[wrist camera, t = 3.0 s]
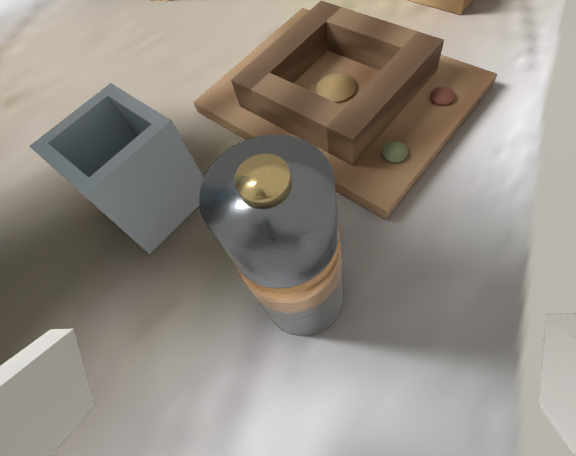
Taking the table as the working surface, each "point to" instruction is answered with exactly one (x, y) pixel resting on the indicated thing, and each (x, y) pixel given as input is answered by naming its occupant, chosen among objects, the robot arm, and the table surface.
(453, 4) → the trough
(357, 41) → the cradle
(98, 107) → the cup
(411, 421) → the table surface
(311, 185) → the cell
